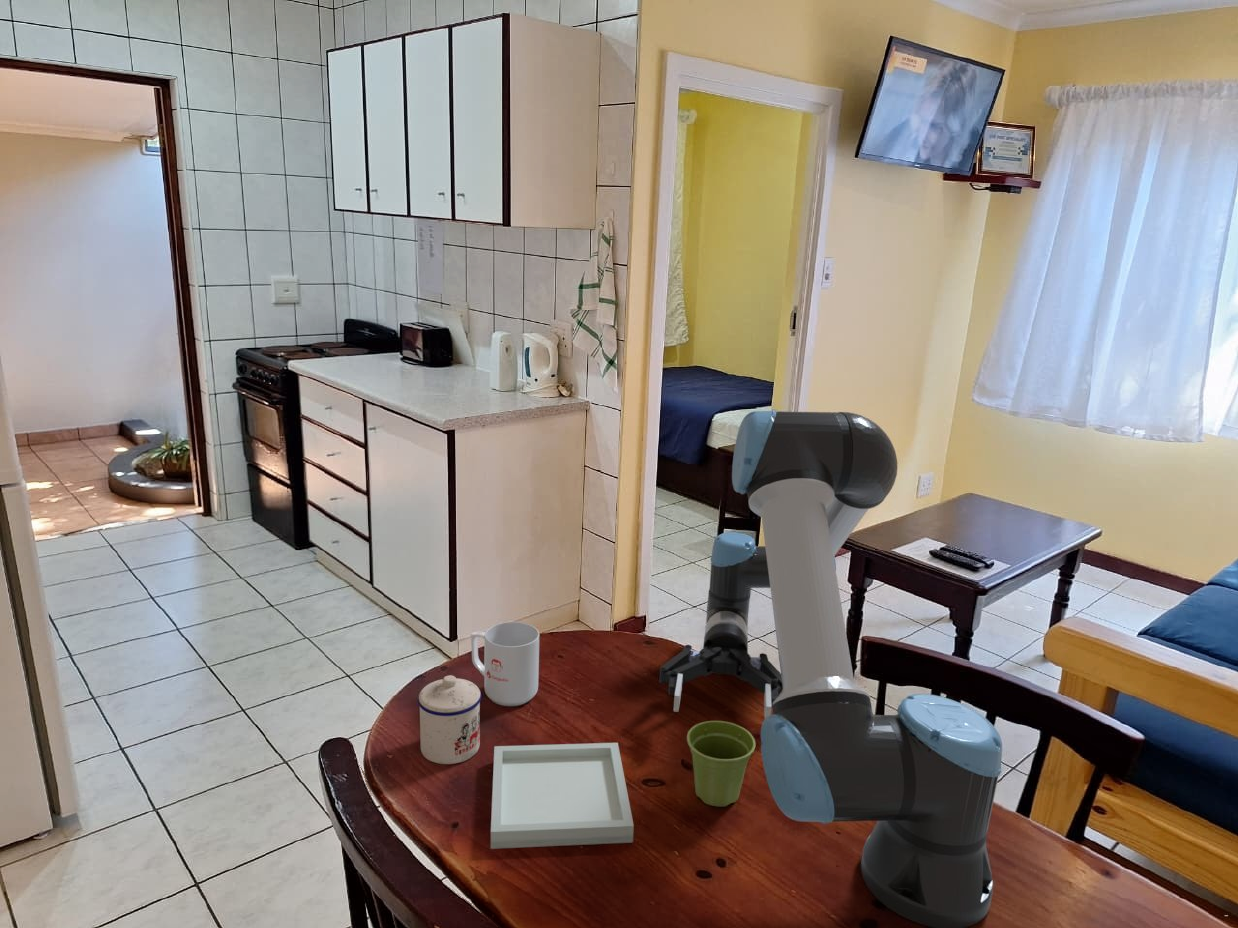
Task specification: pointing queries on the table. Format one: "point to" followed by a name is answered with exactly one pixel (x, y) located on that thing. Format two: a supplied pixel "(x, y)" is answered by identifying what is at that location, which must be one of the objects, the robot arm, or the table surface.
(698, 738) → the plant pot
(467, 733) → the teacup with lid
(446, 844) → the table surface
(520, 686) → the mug
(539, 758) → the tray
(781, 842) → the table surface
